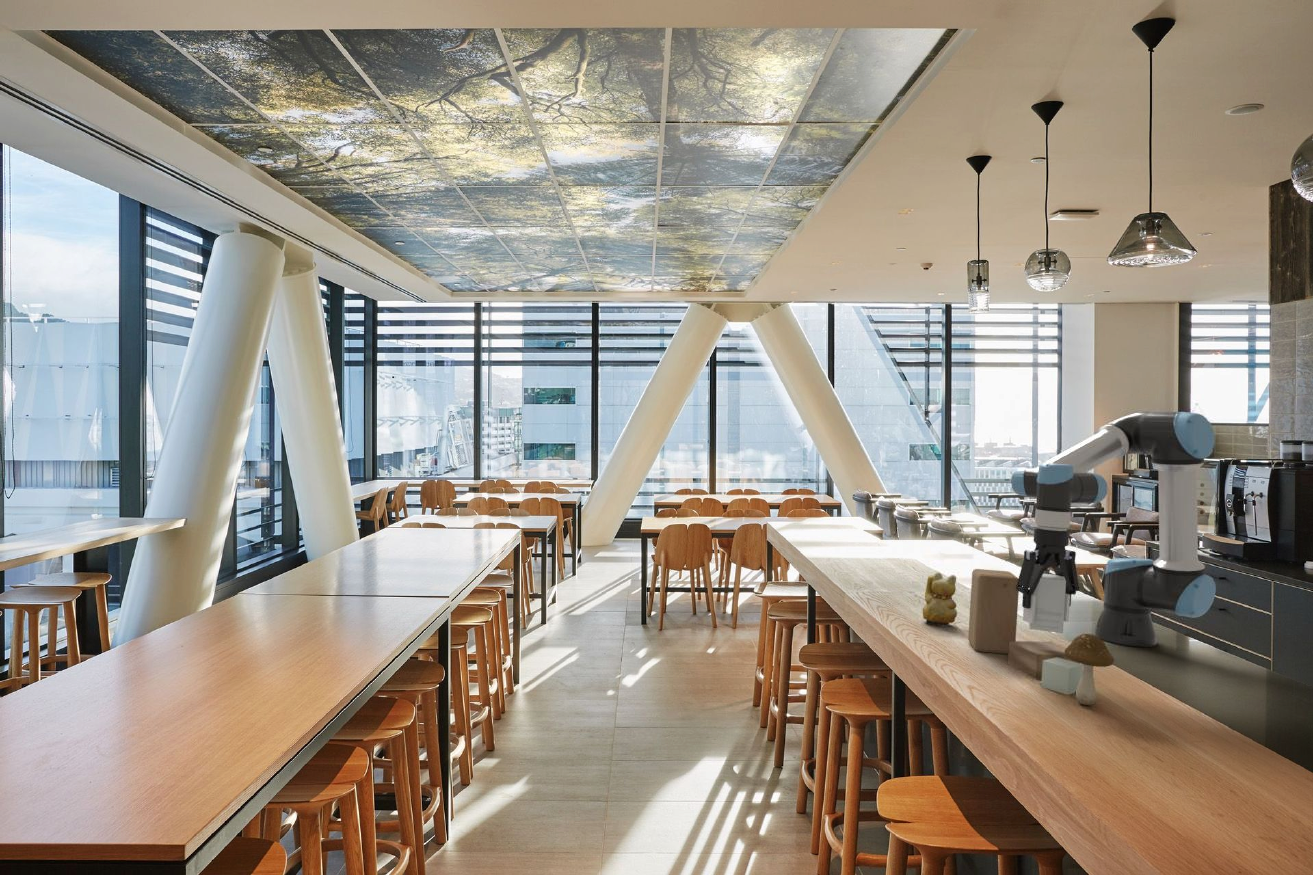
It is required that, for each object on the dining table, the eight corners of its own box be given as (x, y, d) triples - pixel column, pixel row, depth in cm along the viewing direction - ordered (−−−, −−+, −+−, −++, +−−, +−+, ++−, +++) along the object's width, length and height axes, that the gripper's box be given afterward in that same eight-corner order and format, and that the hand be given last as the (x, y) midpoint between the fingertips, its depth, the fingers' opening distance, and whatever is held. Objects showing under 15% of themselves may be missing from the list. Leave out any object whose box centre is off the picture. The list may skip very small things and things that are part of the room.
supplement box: (1061, 627, 195) (1065, 575, 194) (1063, 634, 188) (1066, 580, 188) (1028, 622, 198) (1031, 571, 197) (1028, 629, 191) (1031, 576, 191)
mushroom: (1066, 711, 166) (1071, 638, 165) (1056, 693, 177) (1061, 625, 176) (1117, 718, 163) (1121, 644, 163) (1103, 700, 174) (1108, 631, 174)
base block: (1049, 665, 199) (1050, 641, 199) (1078, 680, 188) (1080, 654, 188) (1008, 665, 198) (1009, 641, 198) (1035, 680, 187) (1037, 654, 187)
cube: (1055, 683, 185) (1056, 657, 185) (1081, 691, 180) (1083, 664, 180) (1041, 686, 181) (1042, 660, 181) (1067, 695, 176) (1069, 668, 176)
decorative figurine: (958, 624, 236) (961, 573, 236) (952, 630, 229) (955, 577, 229) (924, 618, 241) (927, 569, 241) (917, 624, 234) (920, 572, 234)
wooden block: (1015, 655, 206) (1020, 577, 205) (974, 651, 208) (978, 574, 207) (1006, 645, 215) (1011, 571, 215) (967, 641, 217) (971, 567, 217)
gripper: (1074, 526, 200) (1068, 615, 200) (1002, 525, 192) (996, 618, 192) (1100, 530, 193) (1094, 623, 193) (1027, 530, 185) (1021, 626, 185)
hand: (1045, 620), depth 193 cm, fingers closed on supplement box, 10 cm apart
